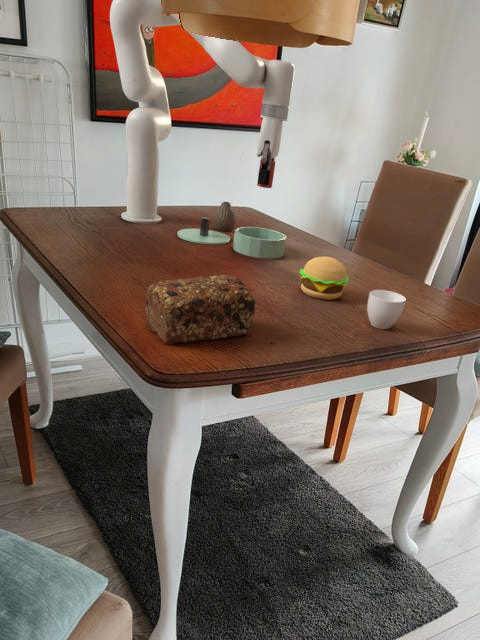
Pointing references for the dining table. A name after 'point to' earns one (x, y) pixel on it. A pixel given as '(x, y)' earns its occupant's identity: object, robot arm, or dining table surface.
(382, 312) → the cup
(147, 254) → the dining table surface
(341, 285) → the hamburger
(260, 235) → the pot
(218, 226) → the vase
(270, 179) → the red cylinder
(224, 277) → the bread
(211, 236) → the lid
